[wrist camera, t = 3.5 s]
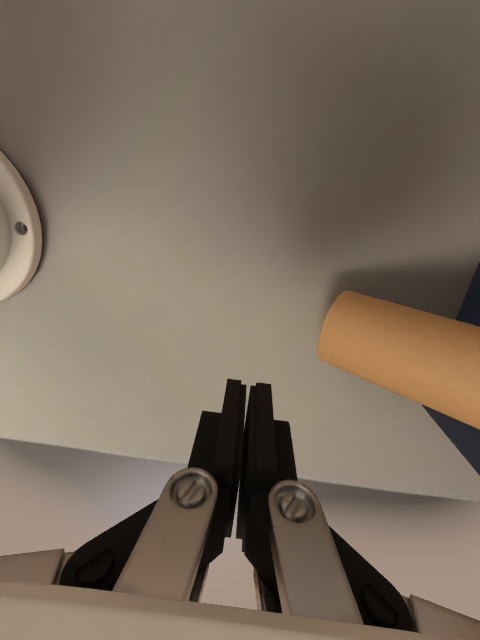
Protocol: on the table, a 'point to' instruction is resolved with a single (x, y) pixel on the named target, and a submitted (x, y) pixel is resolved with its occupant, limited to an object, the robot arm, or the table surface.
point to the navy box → (467, 439)
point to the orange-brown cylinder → (406, 352)
